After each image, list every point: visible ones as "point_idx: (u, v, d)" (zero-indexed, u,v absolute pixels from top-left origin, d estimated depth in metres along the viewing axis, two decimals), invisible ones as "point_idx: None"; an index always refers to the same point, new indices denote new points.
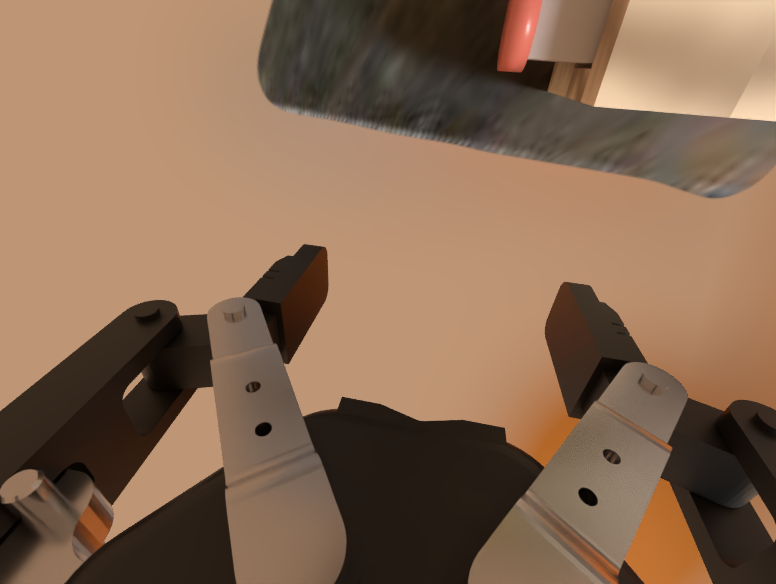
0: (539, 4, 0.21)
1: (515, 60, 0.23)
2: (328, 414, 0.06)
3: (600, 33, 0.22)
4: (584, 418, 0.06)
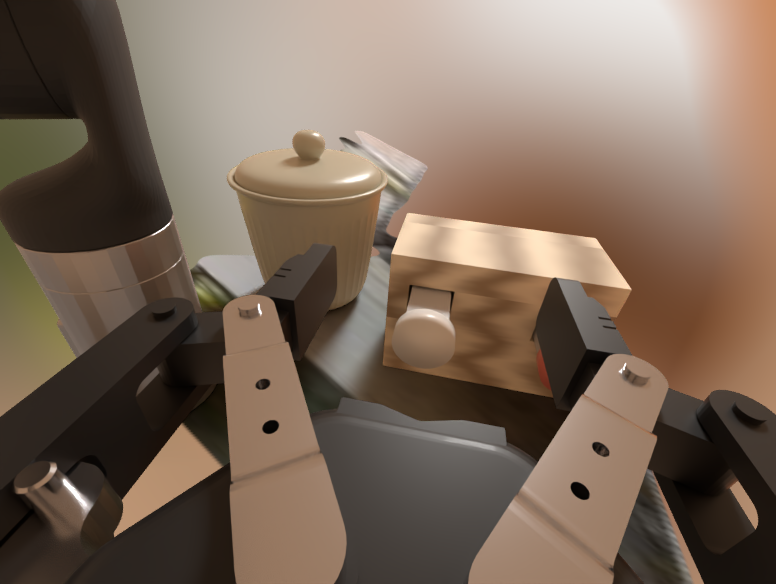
0: None
1: None
2: (328, 414, 0.06)
3: None
4: (572, 412, 0.06)
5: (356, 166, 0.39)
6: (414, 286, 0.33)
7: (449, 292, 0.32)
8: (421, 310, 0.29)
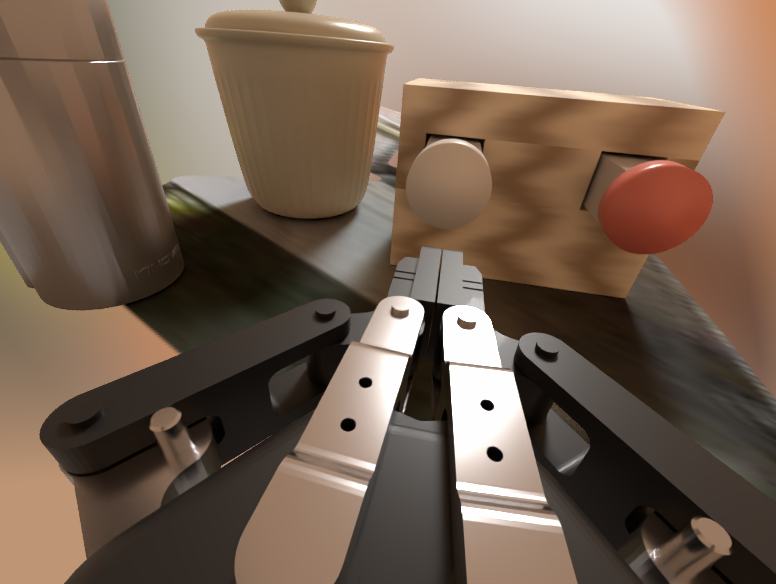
0: (649, 162, 0.20)
1: None
2: None
3: (636, 159, 0.24)
4: (452, 383, 0.06)
5: None
6: (432, 137, 0.26)
7: (477, 142, 0.25)
8: (446, 139, 0.21)
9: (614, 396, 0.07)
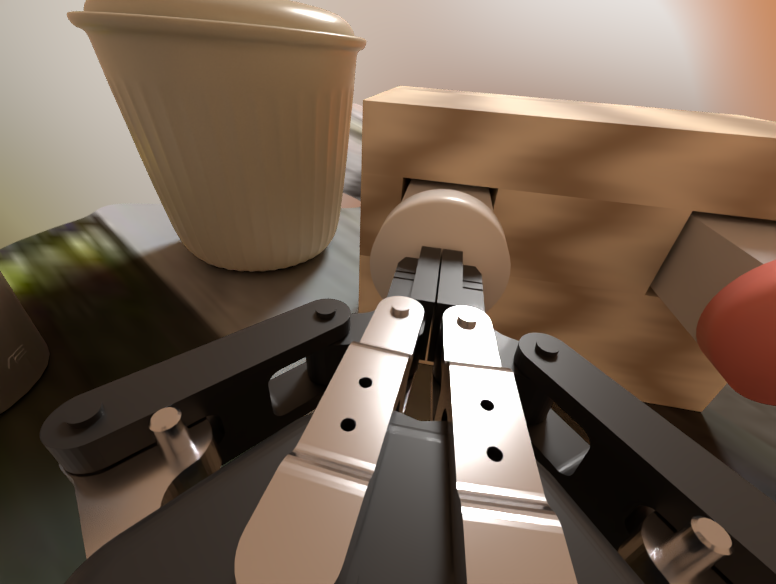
0: None
1: None
2: None
3: (751, 225, 0.14)
4: (452, 383, 0.06)
5: None
6: None
7: None
8: (435, 191, 0.13)
9: (614, 396, 0.07)
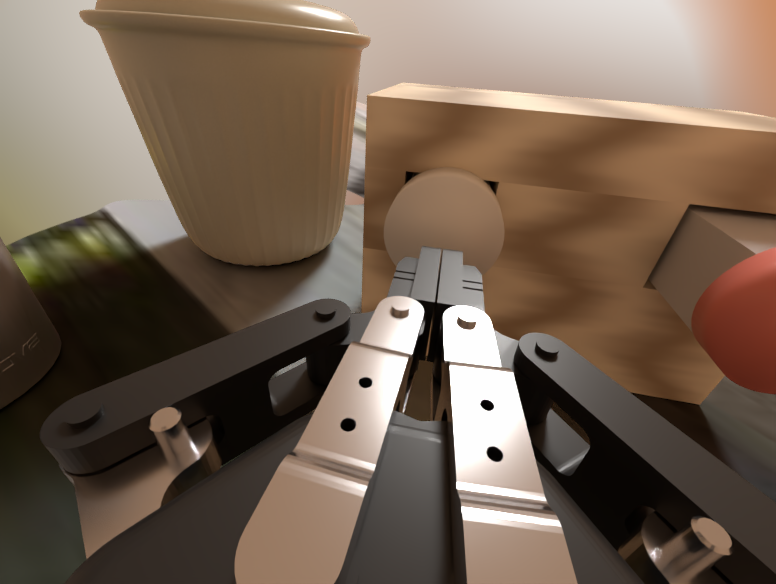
0: None
1: None
2: None
3: (747, 218, 0.15)
4: (452, 384, 0.06)
5: None
6: None
7: None
8: (440, 169, 0.15)
9: (614, 396, 0.07)
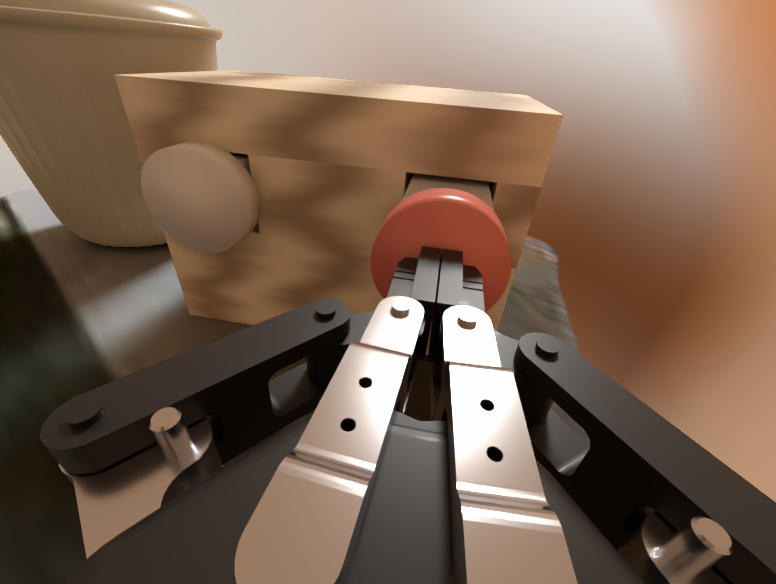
0: (425, 191, 0.13)
1: (500, 224, 0.13)
2: None
3: (455, 180, 0.17)
4: (452, 384, 0.06)
5: None
6: None
7: None
8: (186, 142, 0.17)
9: (614, 396, 0.07)
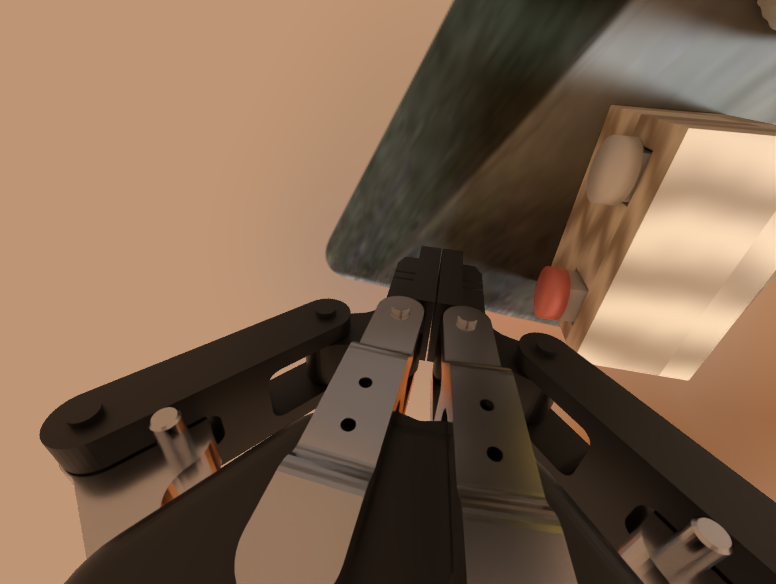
0: (566, 300, 0.32)
1: (548, 318, 0.35)
2: None
3: None
4: (452, 384, 0.06)
5: None
6: None
7: None
8: (634, 173, 0.26)
9: (614, 395, 0.07)
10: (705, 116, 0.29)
